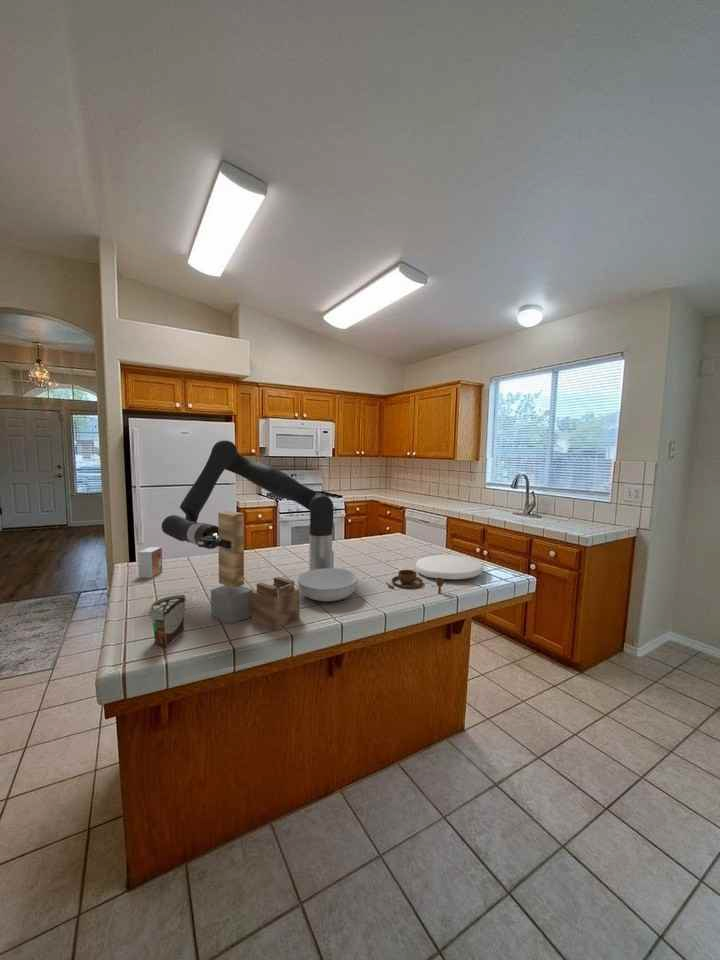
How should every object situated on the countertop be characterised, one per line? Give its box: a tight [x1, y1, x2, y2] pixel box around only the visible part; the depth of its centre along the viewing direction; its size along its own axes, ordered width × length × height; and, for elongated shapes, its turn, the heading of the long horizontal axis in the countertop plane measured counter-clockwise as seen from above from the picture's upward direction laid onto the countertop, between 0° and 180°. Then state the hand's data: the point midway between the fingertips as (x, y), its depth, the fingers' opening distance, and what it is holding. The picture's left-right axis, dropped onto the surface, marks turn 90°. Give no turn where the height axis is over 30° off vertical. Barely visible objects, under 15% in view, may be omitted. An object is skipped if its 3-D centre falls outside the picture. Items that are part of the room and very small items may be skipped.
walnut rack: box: [251, 576, 300, 631], centre depth 116 cm, size 10×10×12 cm
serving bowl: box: [297, 567, 359, 602], centre depth 136 cm, size 21×21×7 cm
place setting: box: [385, 569, 444, 595], centre depth 146 cm, size 18×20×6 cm
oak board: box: [217, 510, 245, 588], centre depth 118 cm, size 4×7×22 cm, turn 54°
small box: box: [137, 546, 163, 579], centre depth 156 cm, size 8×6×10 cm
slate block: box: [210, 585, 254, 625], centre depth 119 cm, size 8×10×8 cm
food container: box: [148, 594, 187, 648], centre depth 104 cm, size 12×6×10 cm, turn 178°
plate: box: [415, 554, 484, 580], centre depth 163 cm, size 28×6×27 cm
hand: (236, 543), depth 116 cm, fingers closed on oak board, 4 cm apart
